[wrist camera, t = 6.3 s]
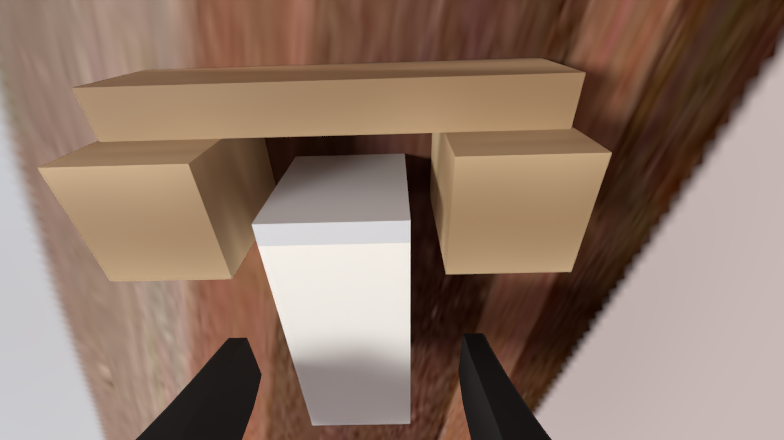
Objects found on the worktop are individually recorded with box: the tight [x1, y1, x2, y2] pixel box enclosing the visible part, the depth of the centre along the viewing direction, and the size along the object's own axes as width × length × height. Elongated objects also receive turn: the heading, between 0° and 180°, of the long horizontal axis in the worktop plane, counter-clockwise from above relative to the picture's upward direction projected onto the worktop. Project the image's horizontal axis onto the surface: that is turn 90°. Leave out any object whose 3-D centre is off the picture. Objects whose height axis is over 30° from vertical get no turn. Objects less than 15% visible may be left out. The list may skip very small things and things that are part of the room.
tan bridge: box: [38, 58, 612, 282], centre depth 9 cm, size 4×11×4 cm, turn 92°
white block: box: [251, 154, 411, 425], centre depth 11 cm, size 9×4×4 cm, turn 2°
